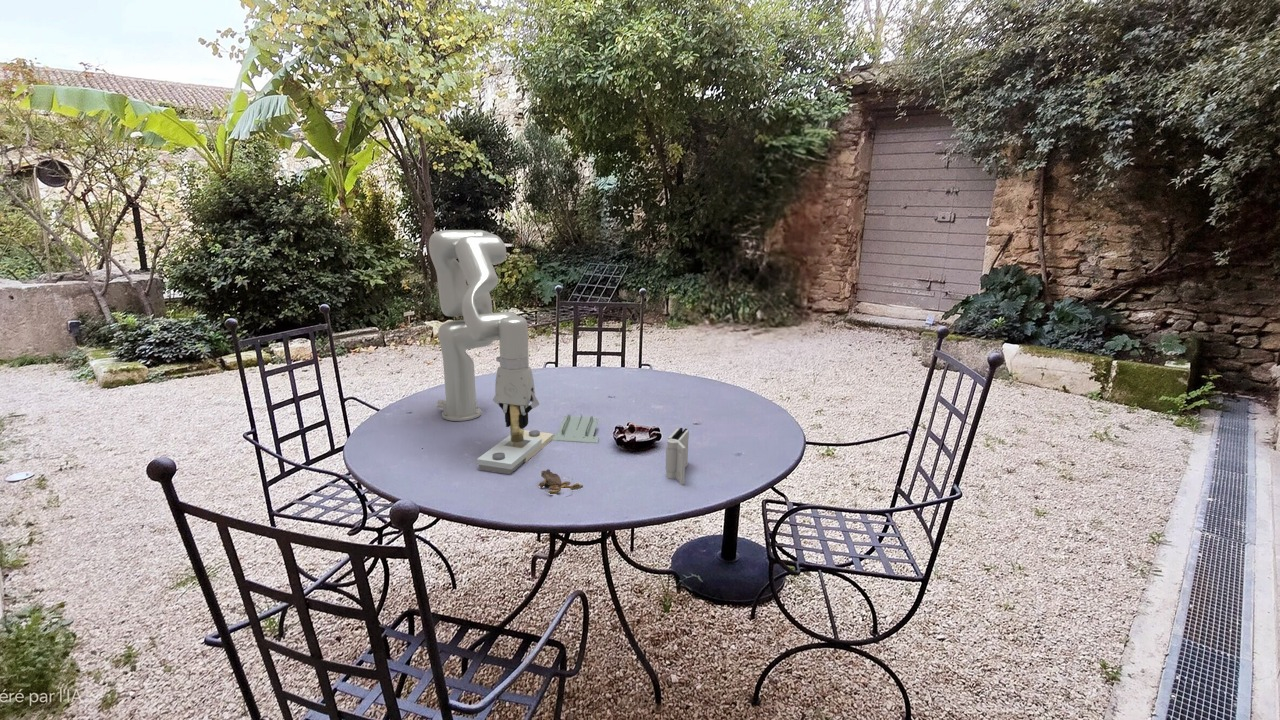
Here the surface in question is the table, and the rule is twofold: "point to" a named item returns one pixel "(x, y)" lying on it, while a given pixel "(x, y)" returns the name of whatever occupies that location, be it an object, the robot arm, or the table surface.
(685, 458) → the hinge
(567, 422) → the metal bracket
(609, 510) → the table surface
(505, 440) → the white peg board
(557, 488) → the frog figurine
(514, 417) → the brass pin
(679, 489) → the table surface
